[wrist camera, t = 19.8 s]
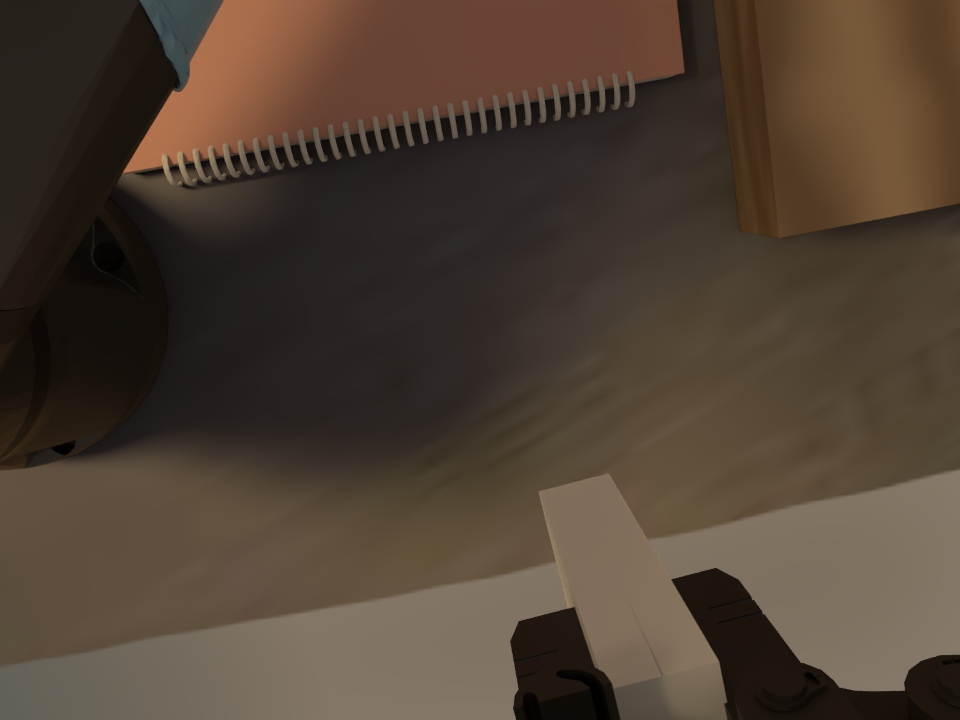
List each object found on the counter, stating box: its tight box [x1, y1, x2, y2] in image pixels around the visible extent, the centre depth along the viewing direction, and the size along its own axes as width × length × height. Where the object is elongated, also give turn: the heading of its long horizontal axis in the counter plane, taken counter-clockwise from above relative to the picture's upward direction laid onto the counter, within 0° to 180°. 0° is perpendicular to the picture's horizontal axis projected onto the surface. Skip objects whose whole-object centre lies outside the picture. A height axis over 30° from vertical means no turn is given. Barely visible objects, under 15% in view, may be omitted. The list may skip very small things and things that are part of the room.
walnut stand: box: [713, 0, 960, 238], centre depth 37 cm, size 14×16×5 cm
